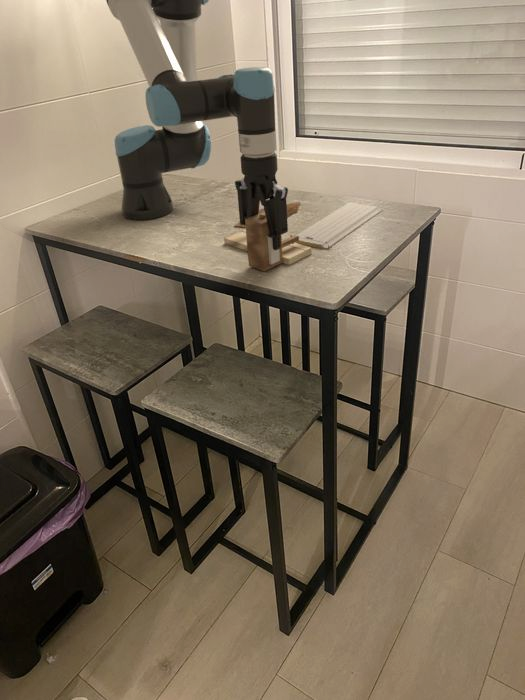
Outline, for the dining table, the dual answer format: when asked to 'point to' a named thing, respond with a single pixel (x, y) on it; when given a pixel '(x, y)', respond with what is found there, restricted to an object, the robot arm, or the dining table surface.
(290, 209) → the wooden fragment
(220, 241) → the dining table surface
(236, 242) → the board
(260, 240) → the block
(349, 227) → the baseboard molding
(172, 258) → the dining table surface
